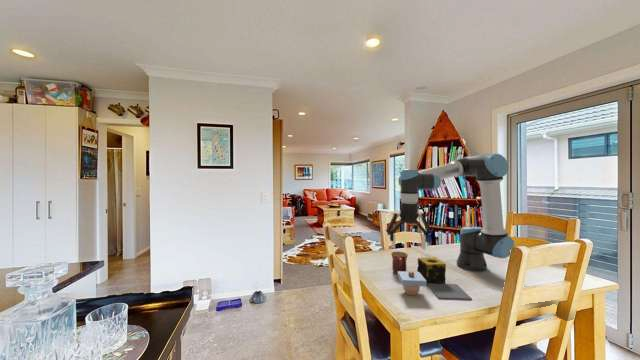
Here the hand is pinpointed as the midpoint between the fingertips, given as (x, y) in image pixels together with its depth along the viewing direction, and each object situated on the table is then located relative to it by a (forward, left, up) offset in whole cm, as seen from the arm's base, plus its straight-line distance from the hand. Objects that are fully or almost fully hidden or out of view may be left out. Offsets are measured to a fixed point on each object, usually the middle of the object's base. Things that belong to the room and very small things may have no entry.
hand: (408, 248), depth 116 cm
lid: (-1, +2, -14) cm, 15 cm away
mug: (-1, -20, -20) cm, 28 cm away
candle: (-15, -13, -20) cm, 28 cm away
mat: (-18, 0, -20) cm, 27 cm away
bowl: (-1, +2, -20) cm, 20 cm away
